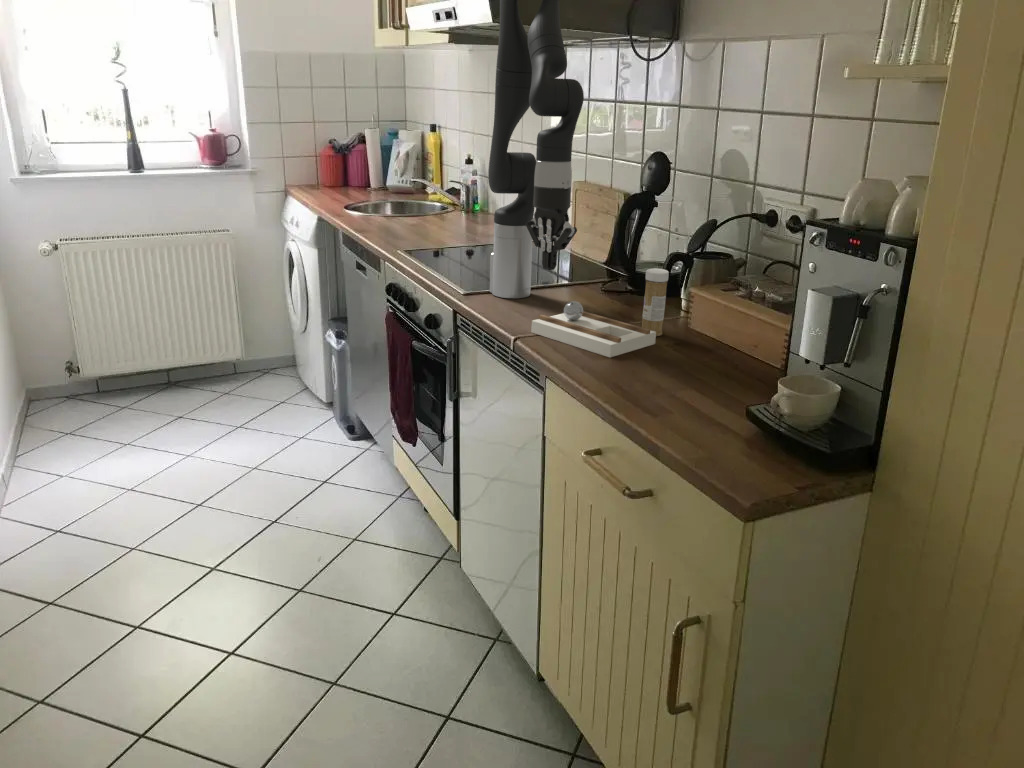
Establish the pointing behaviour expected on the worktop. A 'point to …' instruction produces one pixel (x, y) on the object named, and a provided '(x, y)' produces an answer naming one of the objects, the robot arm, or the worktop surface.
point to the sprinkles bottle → (655, 299)
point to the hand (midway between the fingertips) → (549, 269)
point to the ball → (573, 310)
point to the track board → (594, 333)
